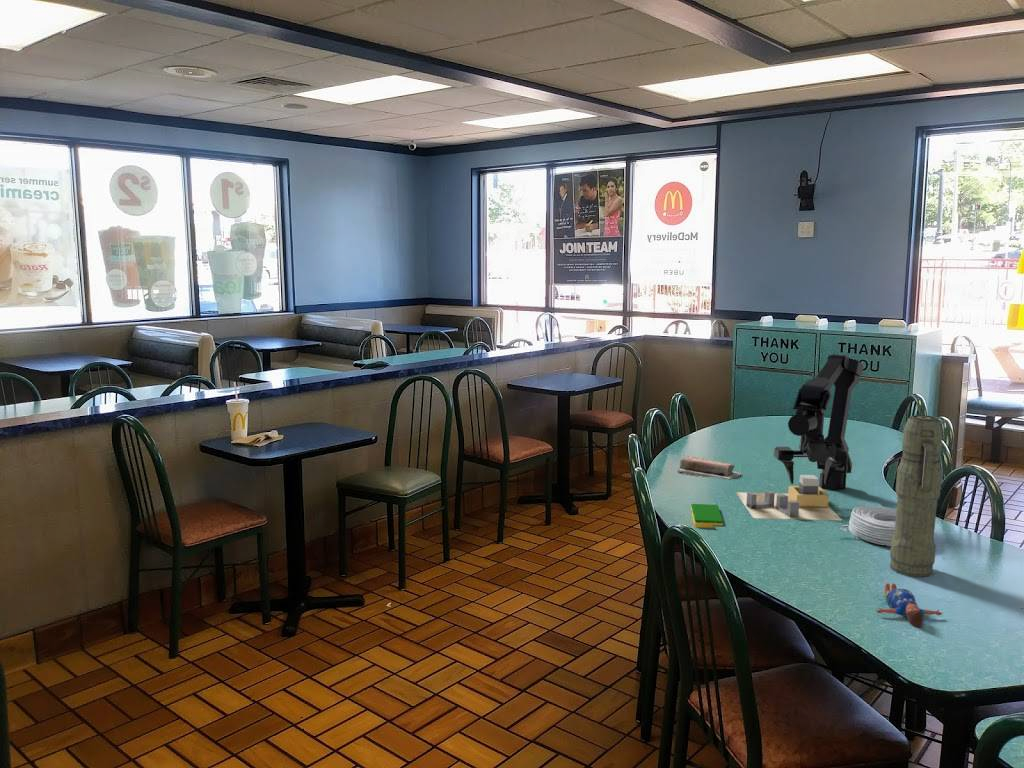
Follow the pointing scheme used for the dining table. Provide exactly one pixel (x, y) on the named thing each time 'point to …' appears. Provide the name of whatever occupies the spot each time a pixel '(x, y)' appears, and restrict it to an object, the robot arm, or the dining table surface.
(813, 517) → the board
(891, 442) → the dining table surface
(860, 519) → the cable
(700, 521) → the dish sponge
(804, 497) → the end holder
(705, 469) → the packaged product
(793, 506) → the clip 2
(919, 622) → the toy character
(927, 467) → the thermos
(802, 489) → the connector plug
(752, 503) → the clip
